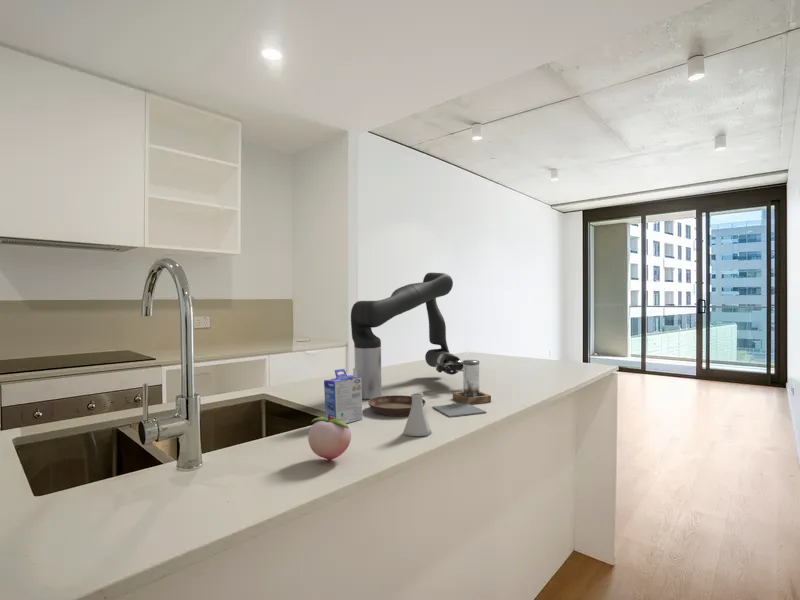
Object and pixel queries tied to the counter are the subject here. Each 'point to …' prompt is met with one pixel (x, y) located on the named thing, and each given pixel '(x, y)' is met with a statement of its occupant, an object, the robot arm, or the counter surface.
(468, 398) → the pocket frame
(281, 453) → the counter surface
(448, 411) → the rubber mat
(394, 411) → the plant saucer
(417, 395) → the flask
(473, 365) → the canister
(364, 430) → the counter surface
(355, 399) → the ink cartridge box
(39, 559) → the counter surface
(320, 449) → the decorative fruit
